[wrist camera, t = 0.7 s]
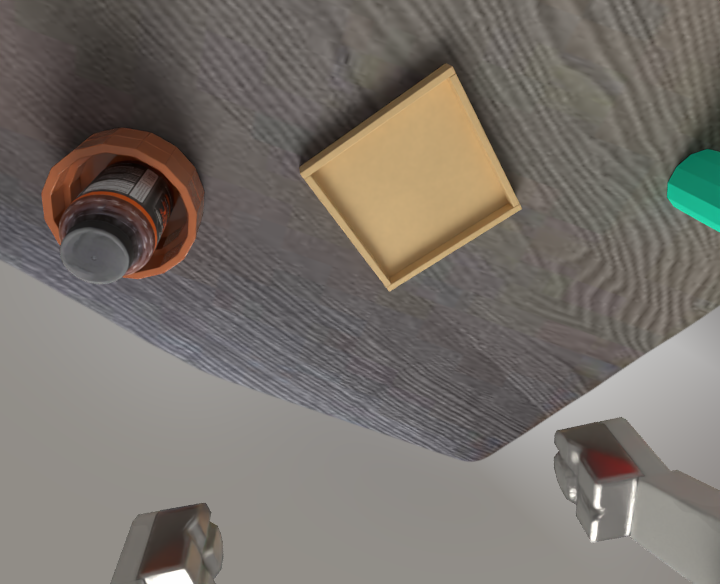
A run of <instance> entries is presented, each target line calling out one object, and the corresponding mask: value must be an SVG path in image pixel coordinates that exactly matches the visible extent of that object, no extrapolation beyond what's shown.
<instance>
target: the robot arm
mask: <svg viewBox="0 0 720 584" xmlns="http://www.w3.org/2000/svg"><path fill="white" fill-rule="evenodd" d="M554 443H555V445H556V447H557V448H558V450H559V452H558V453H557V454H556V456H555V457H554V469H555V473H556V477H557V481H558V483H559V486H560V488H561V490H562V492H563V494H564V495H565V497H566V499H568V500H569V501H571V502H572V503H574V504H576V505H577V507H576V516H577V518H578V520H579V522H580V524H581V525H582V527H583V529H584V530H585V532H586V534H587V535H588V537H589V539H590V541H591V542H598V541H604V540H609V539H615V538H621V537H626V536H631V539H633V540H634V541H635V542H637V543H638V544H639V545H641V546H642V547H644V548H645V549H646V550H648V551H649V552H650V553H652V554H653V555H655V556H656V557H657V558H659V559H660V560H661V561H663V562H664V563H666V564H667V565H668V566H670V567H671V568H672V569H674V570H675V571H676V572H678V573H679V574H680V575H682V576H683V577H684V578H686V579H687V580H689V581H690V582H691V583H693V584H720V490H718V489H715V488H713V487H711V486H709V485H707V484H705V483H703V482H701V481H699V480H696V479H695V478H693V477H691V476H688V475H687V474H684V473H682V472H680V471H678V470H675V471H670V470H669V469H668V468H667V467H666V465H665V464H664V463H663V462H662V461H661V460H660V458H659V457H658V456H657V455H656V454H655V453H654V451H653V450H652V449H651V448H650V447H649V446H648V444H647V443H646V442H645V441H644V440H643V439H642V437H641V436H640V435H639V434H638V433H637V432H636V430H635V429H634V428H633V427H632V426H631V425H630V424H629V422H627V420H626V419H624V418H622V417H619V418H615V419H610V420H605V421H600V422H594V423H590V424H586V425H581V426H576V427H571V428H567V429H562V430H557V431H556V433H555V440H554ZM210 516H211V511H210V510H209V508H208V506H207V504H206V503H200V504H194V505H188V506H183V507H177V508H171V509H166V510H160V511H156V512H151V513H145V514H139V515H138V516H137V517H136V518H135V519H134V521H133V522H132V525H131V527H130V530H129V533H128V536H127V539H126V541H125V544H124V547H123V550H122V552H121V555H120V558H119V561H118V564H117V567H116V569H115V572H114V575H113V577H112V580H111V583H110V584H215V582H214V578H215V577H216V576H217V574H218V573H219V572H220V570H221V568H222V561H223V542H222V537H221V533H220V531H219V528H218V526H217V525H215V524H213V523H211V522H210Z"/></svg>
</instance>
